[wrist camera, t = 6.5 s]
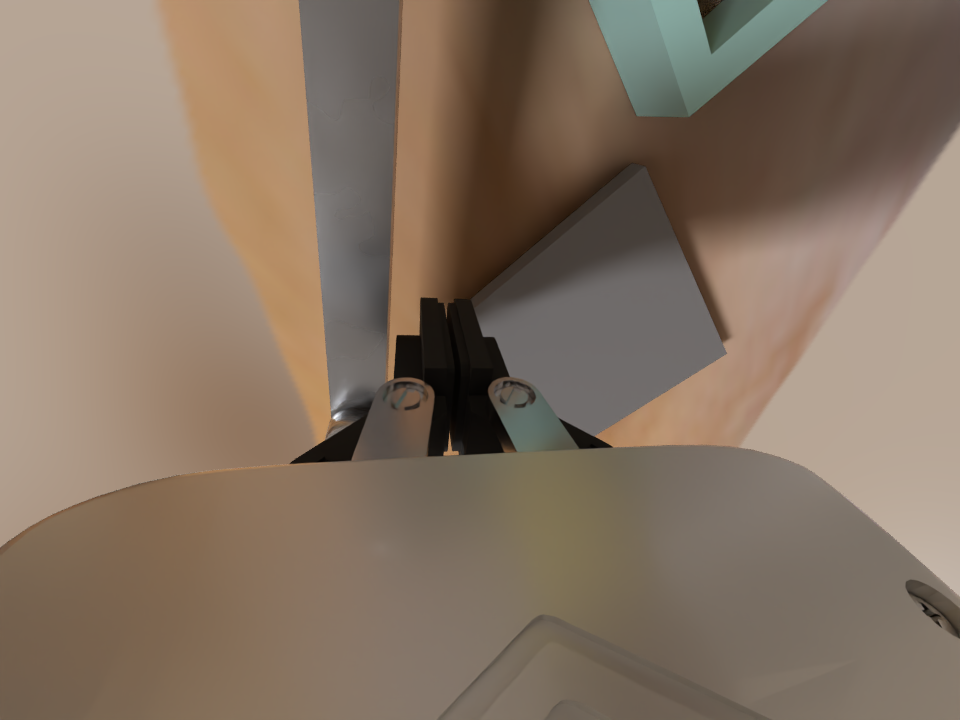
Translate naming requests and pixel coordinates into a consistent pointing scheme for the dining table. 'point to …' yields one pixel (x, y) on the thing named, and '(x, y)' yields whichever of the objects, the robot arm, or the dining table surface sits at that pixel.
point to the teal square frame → (690, 46)
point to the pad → (602, 308)
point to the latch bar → (353, 186)
